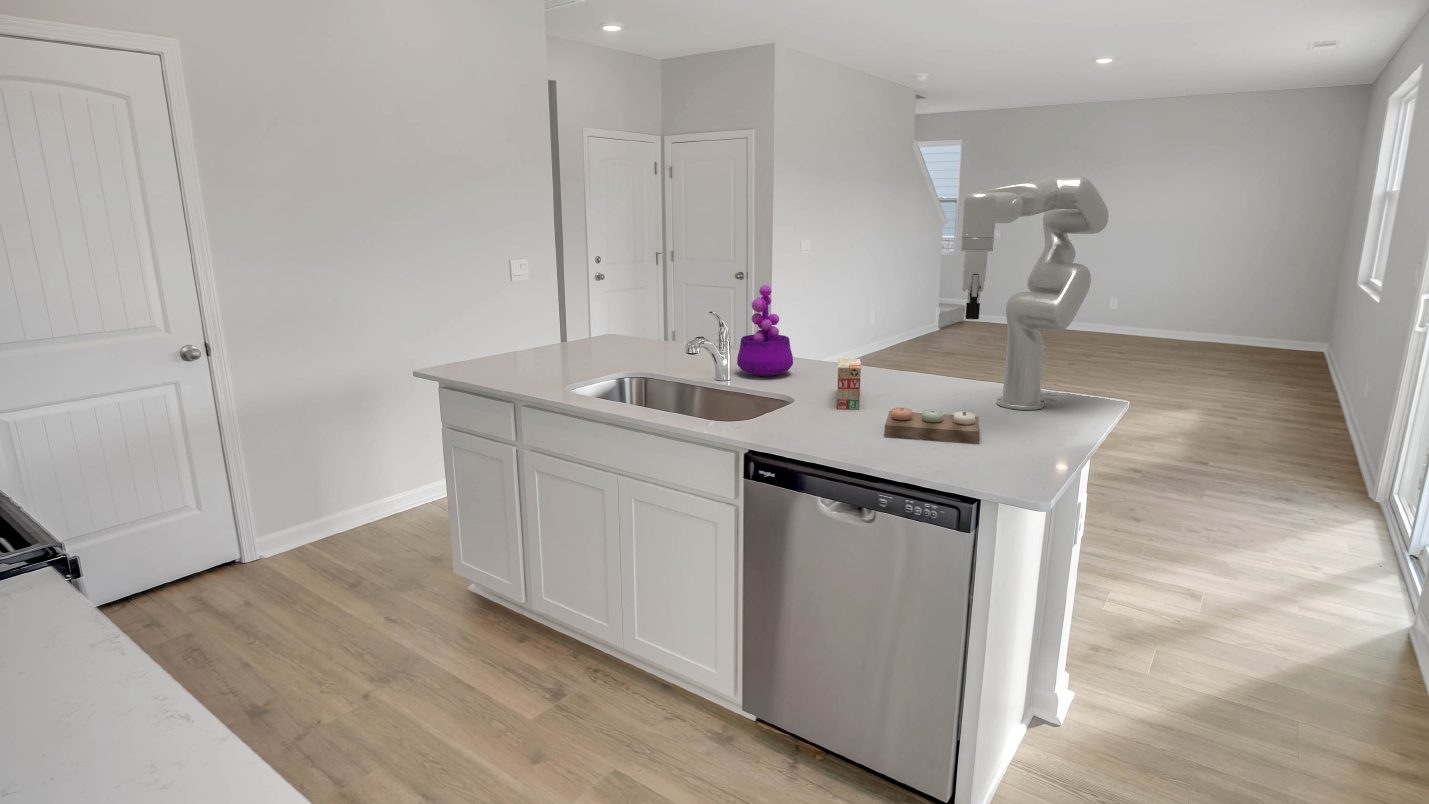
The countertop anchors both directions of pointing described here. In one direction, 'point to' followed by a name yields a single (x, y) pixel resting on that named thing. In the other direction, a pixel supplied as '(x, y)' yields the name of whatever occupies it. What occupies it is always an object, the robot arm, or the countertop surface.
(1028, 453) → the countertop surface
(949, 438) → the button board
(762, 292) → the decorative plant
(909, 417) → the terracotta button
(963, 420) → the cream button
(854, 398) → the stack of blocks
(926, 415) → the sage button
